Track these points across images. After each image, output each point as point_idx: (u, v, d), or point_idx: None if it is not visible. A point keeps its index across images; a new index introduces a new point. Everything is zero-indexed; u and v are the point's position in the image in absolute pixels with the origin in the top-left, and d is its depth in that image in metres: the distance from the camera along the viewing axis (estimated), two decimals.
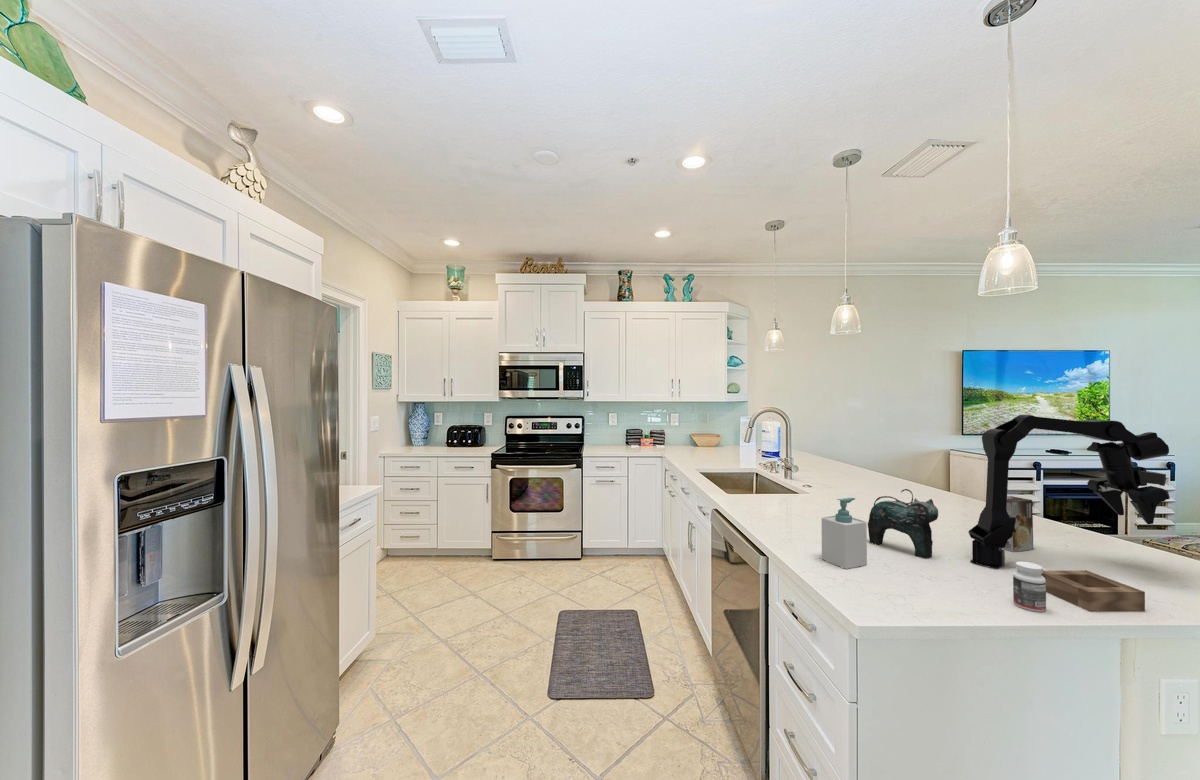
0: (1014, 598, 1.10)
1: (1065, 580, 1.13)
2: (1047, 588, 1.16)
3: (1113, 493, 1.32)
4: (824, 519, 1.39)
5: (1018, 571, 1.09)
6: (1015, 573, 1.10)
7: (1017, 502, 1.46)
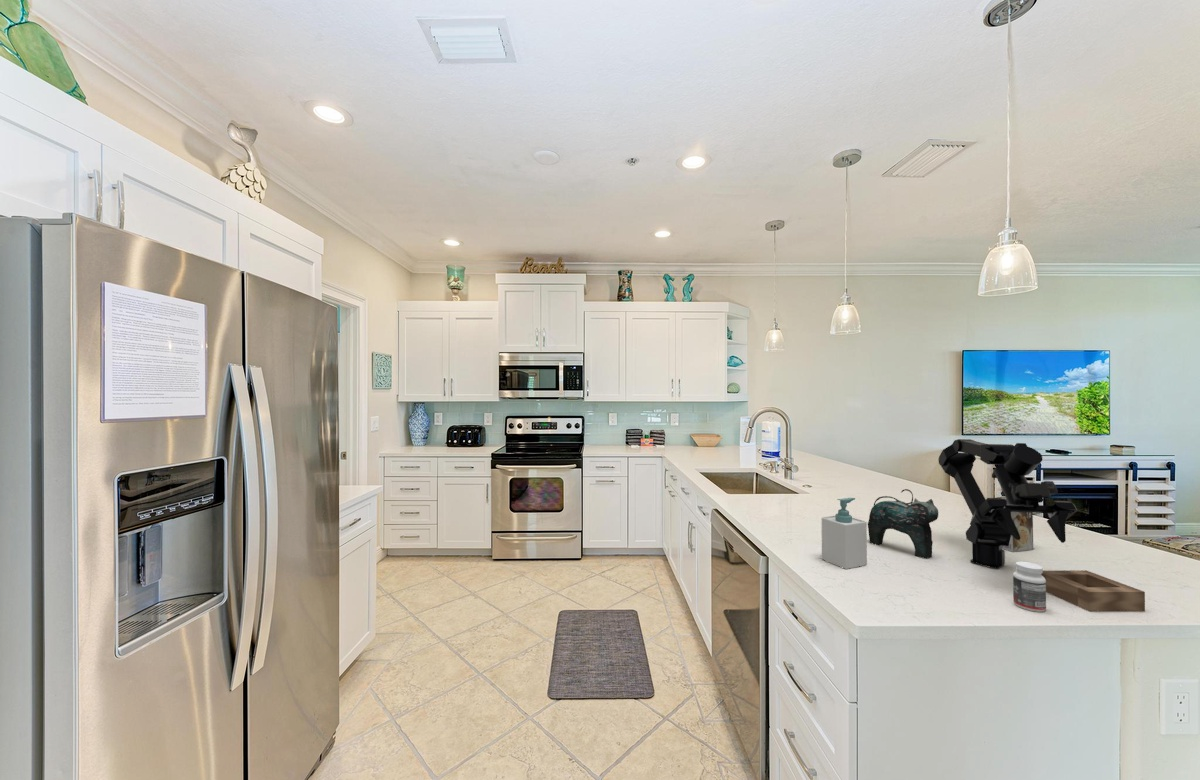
0: (1014, 598, 1.10)
1: (1065, 580, 1.13)
2: (1047, 588, 1.16)
3: (1053, 518, 1.16)
4: (824, 519, 1.39)
5: (1018, 571, 1.09)
6: (1015, 573, 1.10)
7: None
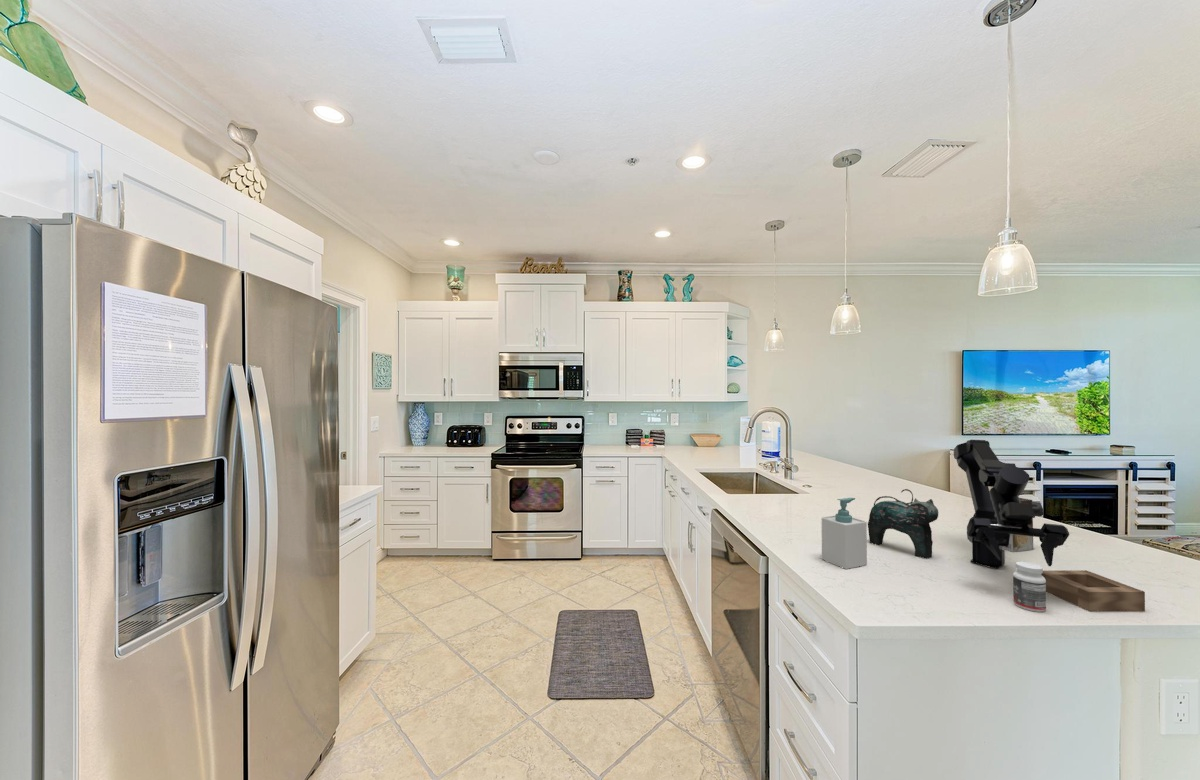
0: (1014, 598, 1.10)
1: (1065, 580, 1.13)
2: (1047, 588, 1.16)
3: (1044, 541, 1.13)
4: (824, 519, 1.39)
5: (1018, 571, 1.09)
6: (1015, 573, 1.10)
7: None
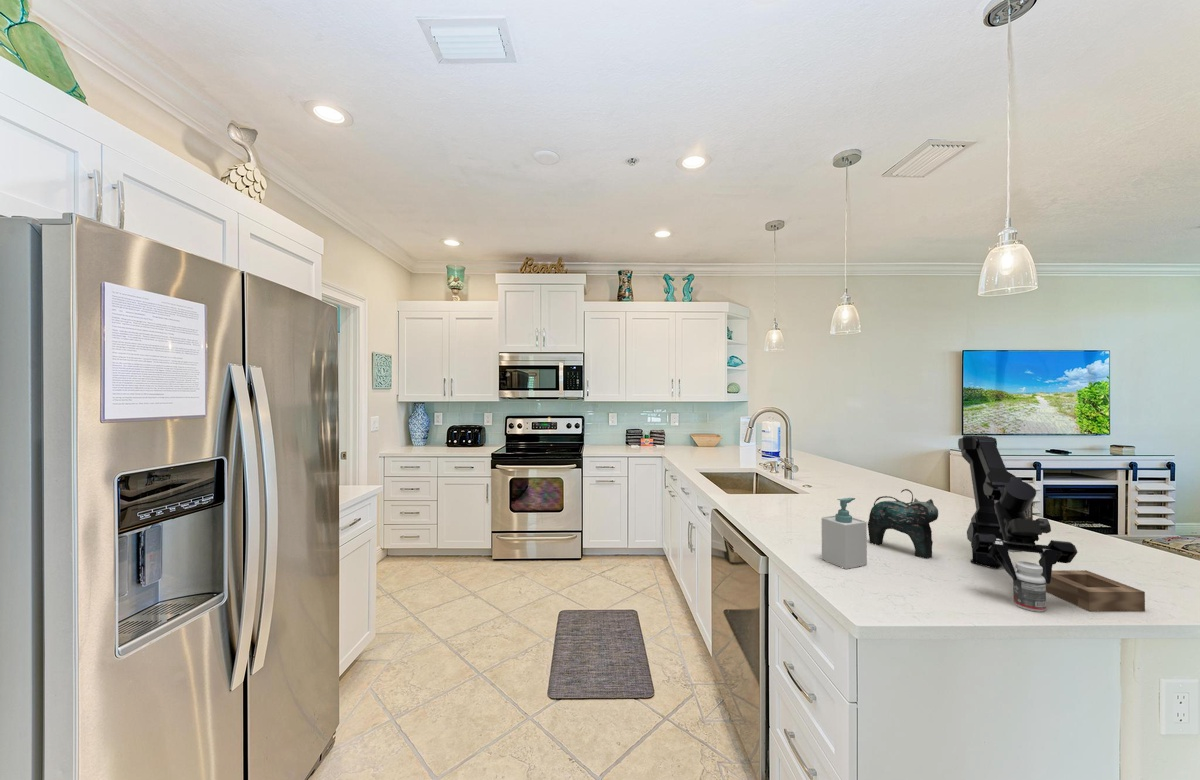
0: (1014, 598, 1.10)
1: (1065, 580, 1.13)
2: (1047, 588, 1.16)
3: (1042, 558, 1.10)
4: (824, 519, 1.39)
5: (1018, 571, 1.09)
6: None
7: None
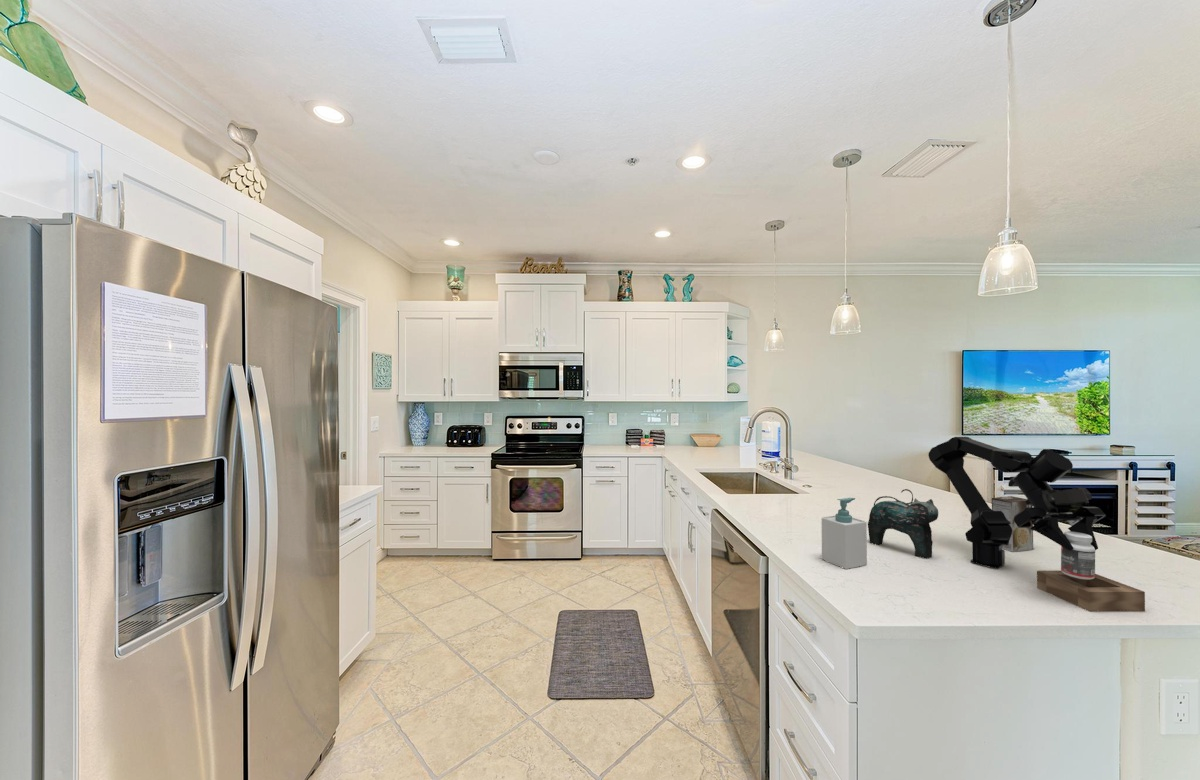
0: (1066, 569, 1.10)
1: (1065, 580, 1.13)
2: (1047, 588, 1.16)
3: (1078, 525, 1.14)
4: (824, 519, 1.39)
5: (1071, 542, 1.10)
6: None
7: (1017, 502, 1.46)
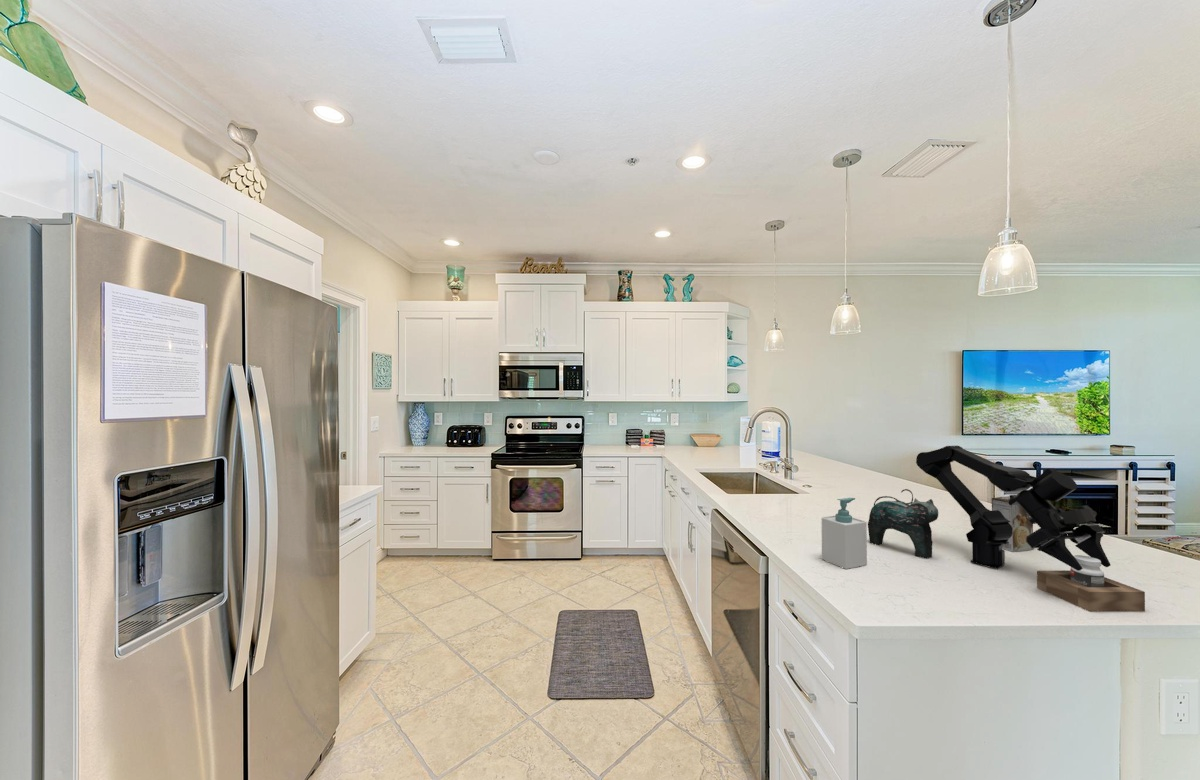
0: None
1: (1065, 580, 1.13)
2: (1047, 588, 1.16)
3: (1087, 542, 1.17)
4: (824, 519, 1.39)
5: (1082, 566, 1.12)
6: None
7: None
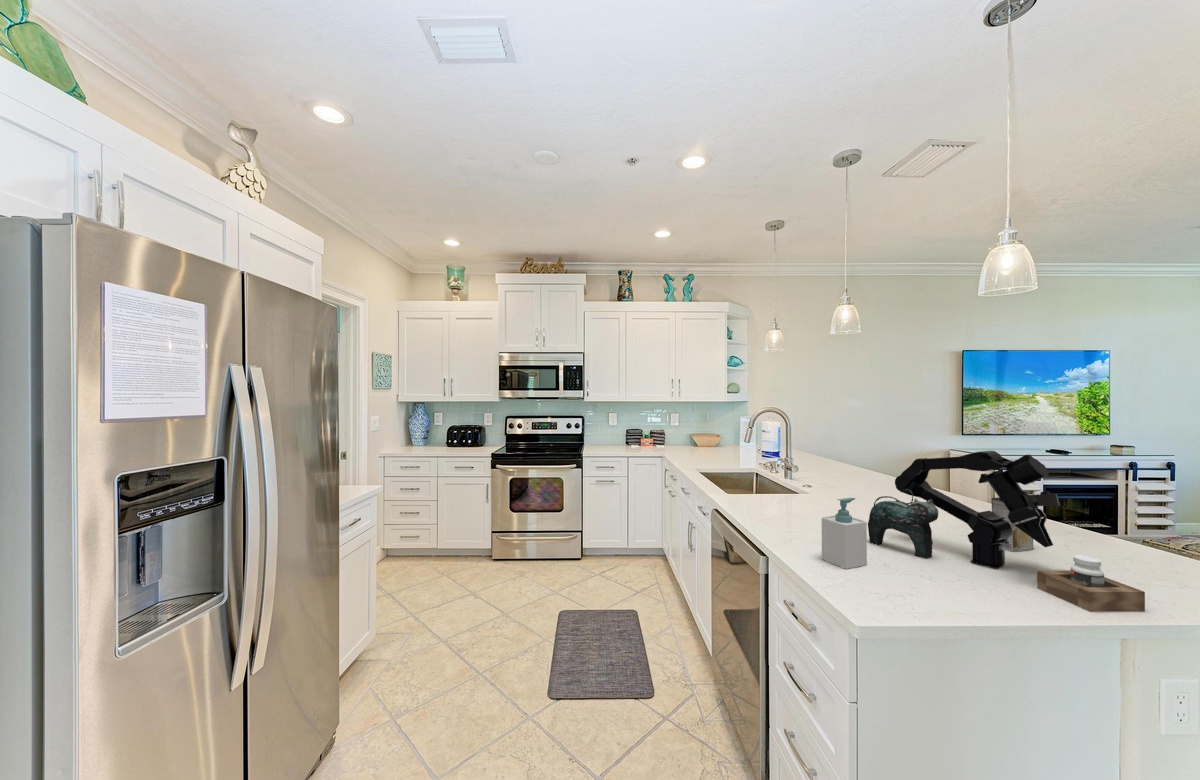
0: None
1: (1065, 580, 1.13)
2: (1047, 588, 1.16)
3: None
4: (824, 519, 1.39)
5: (1082, 566, 1.12)
6: (1079, 569, 1.12)
7: None
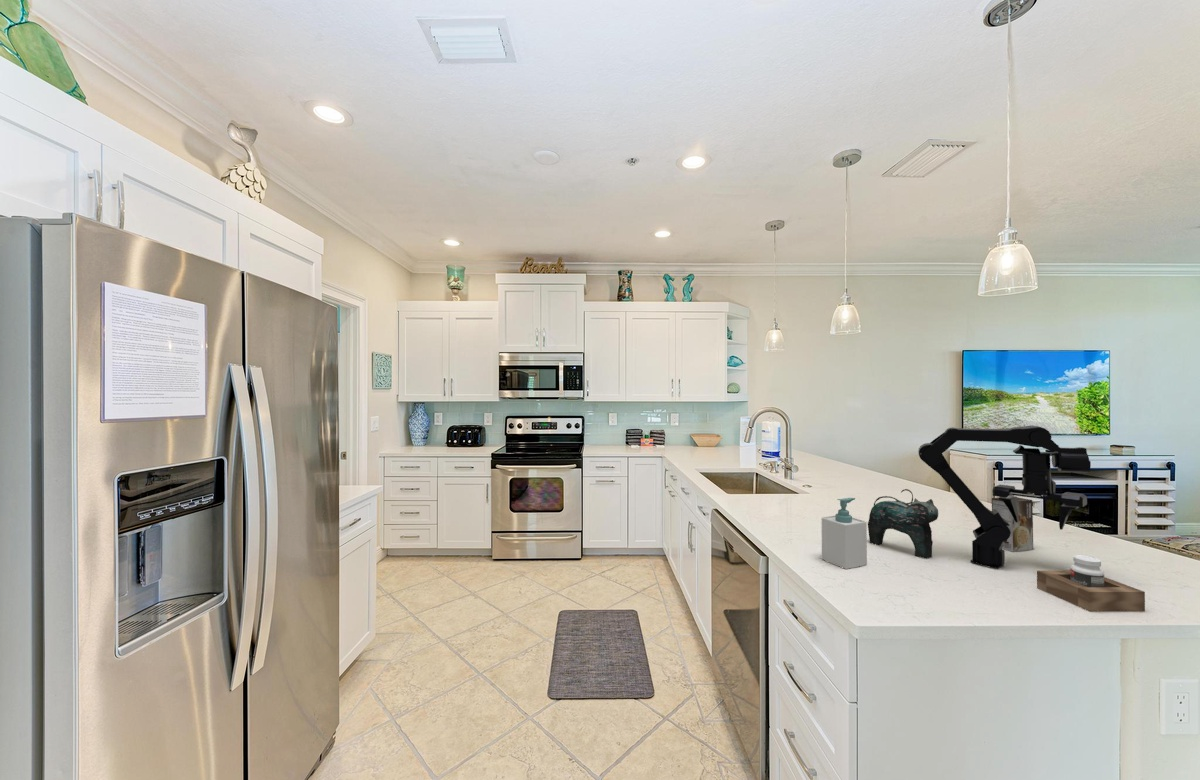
0: None
1: (1065, 580, 1.13)
2: (1047, 588, 1.16)
3: (1014, 500, 1.34)
4: (824, 519, 1.39)
5: (1082, 566, 1.12)
6: (1079, 569, 1.12)
7: (1017, 502, 1.46)
